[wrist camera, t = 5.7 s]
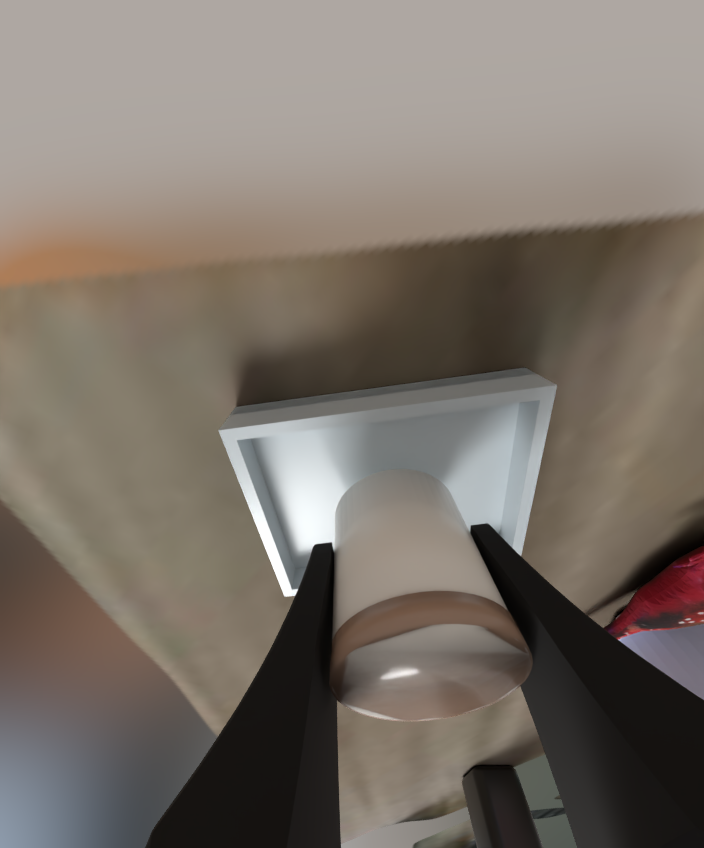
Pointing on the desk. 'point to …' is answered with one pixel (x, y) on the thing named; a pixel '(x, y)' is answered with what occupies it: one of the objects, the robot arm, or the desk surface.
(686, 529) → the desk surface
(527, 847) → the wine bottle
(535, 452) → the tray
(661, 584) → the decorative bird figurine
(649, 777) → the robot arm
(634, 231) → the desk surface
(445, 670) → the espresso cup
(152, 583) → the desk surface
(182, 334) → the desk surface
